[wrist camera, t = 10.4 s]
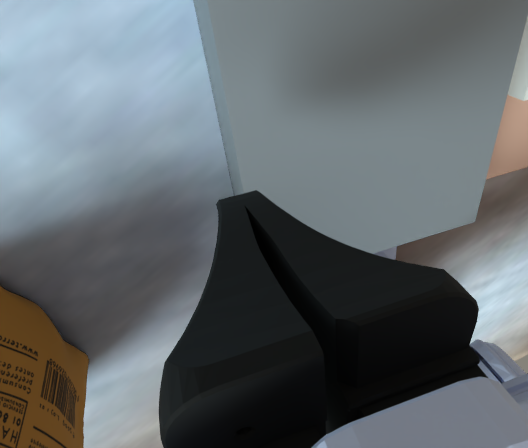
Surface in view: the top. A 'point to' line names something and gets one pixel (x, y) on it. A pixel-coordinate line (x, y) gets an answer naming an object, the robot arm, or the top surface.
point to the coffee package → (38, 379)
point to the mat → (511, 139)
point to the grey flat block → (362, 108)
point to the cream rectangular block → (521, 70)
